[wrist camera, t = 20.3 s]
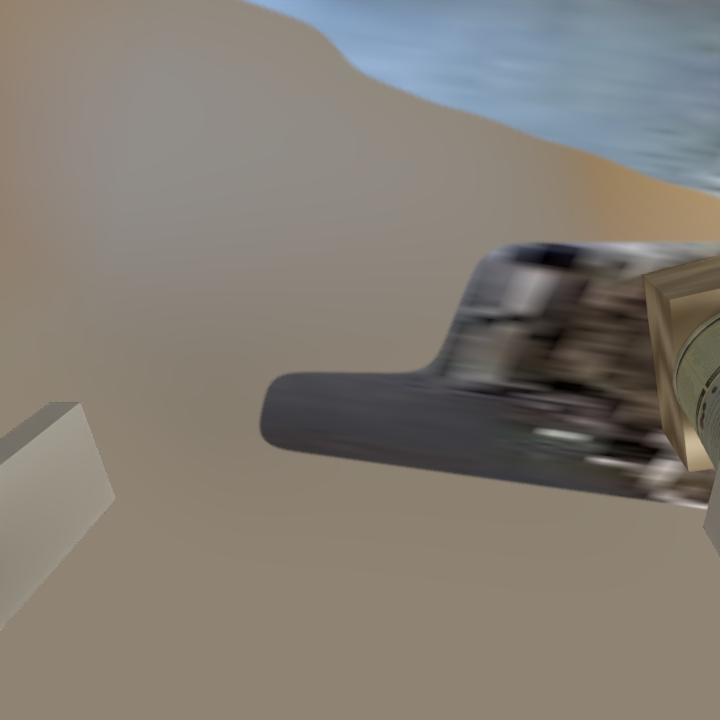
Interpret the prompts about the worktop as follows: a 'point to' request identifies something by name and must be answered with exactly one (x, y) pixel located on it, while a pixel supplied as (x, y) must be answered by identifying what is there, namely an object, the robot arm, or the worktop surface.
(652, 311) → the birch block
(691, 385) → the coffee can
